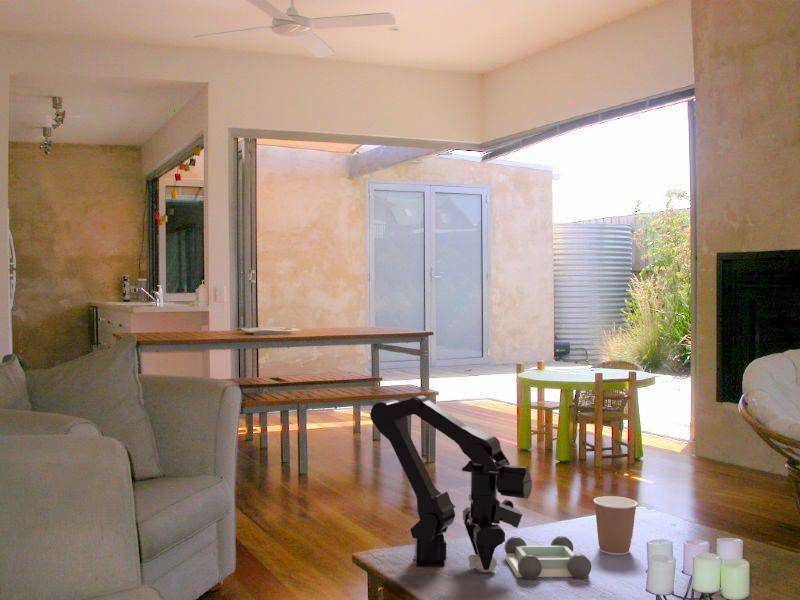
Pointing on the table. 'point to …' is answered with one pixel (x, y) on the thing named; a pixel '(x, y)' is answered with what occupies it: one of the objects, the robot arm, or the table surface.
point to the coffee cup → (615, 523)
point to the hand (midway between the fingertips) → (482, 562)
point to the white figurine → (477, 563)
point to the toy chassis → (546, 559)
